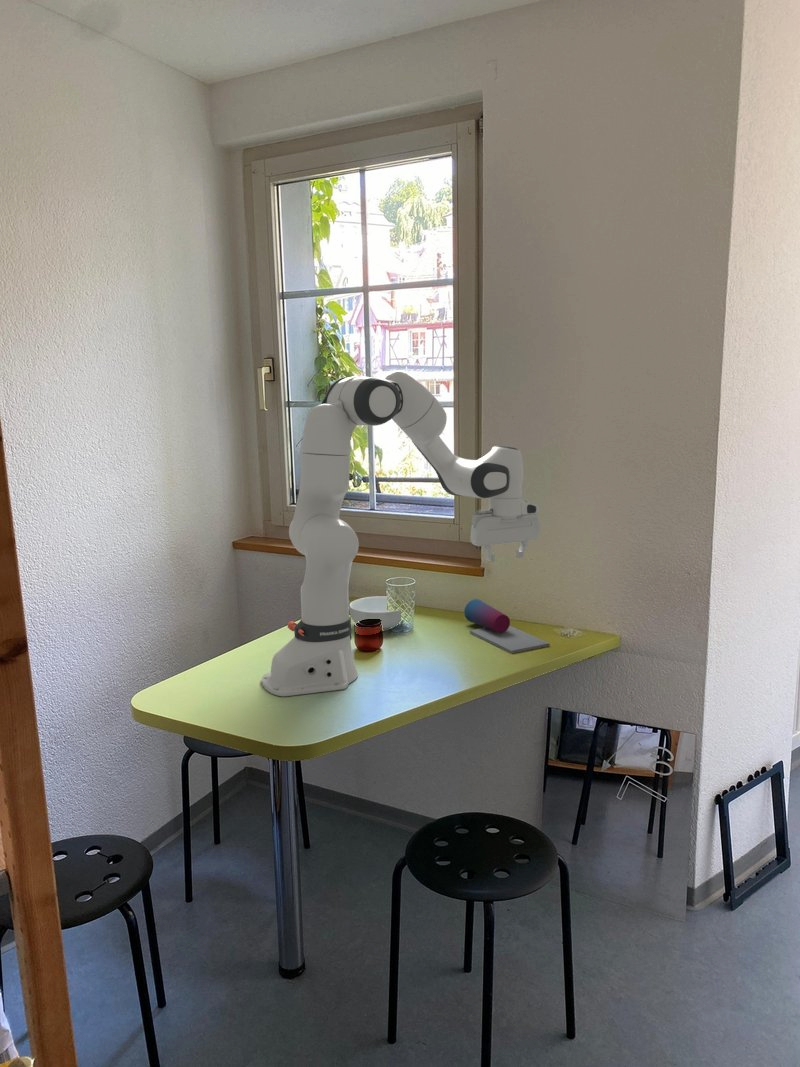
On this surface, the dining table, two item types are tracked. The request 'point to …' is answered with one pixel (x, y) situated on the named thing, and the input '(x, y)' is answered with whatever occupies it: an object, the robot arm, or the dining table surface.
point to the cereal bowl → (374, 611)
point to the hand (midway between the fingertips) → (505, 559)
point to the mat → (510, 639)
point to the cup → (486, 616)
